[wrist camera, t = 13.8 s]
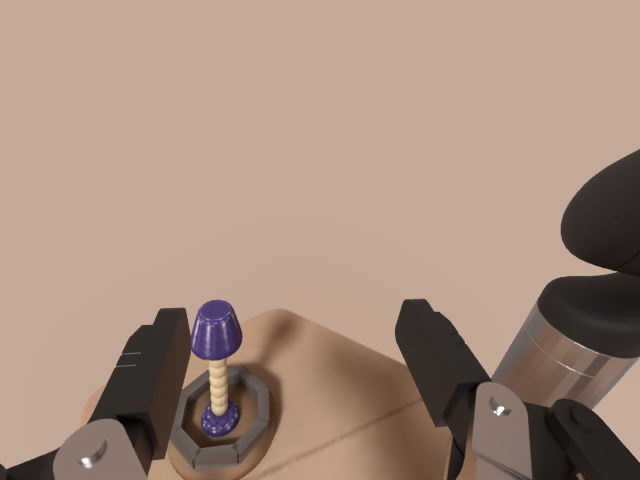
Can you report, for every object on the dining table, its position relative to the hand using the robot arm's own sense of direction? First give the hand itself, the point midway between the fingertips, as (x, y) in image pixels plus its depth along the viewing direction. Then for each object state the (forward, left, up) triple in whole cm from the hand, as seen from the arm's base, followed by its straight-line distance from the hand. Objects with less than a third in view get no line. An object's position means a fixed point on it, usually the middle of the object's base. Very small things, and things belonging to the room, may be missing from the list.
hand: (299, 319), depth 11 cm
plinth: (+6, -13, -30) cm, 33 cm away
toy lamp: (+6, -13, -28) cm, 31 cm away
